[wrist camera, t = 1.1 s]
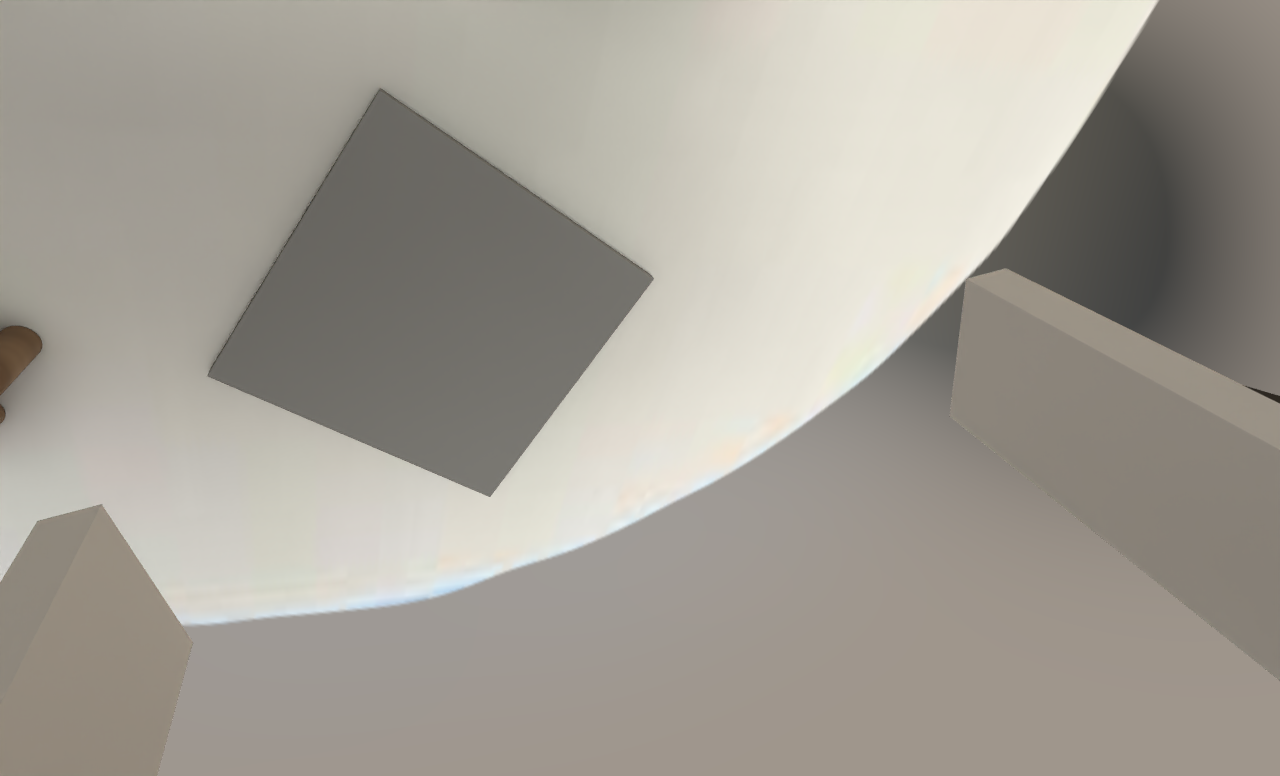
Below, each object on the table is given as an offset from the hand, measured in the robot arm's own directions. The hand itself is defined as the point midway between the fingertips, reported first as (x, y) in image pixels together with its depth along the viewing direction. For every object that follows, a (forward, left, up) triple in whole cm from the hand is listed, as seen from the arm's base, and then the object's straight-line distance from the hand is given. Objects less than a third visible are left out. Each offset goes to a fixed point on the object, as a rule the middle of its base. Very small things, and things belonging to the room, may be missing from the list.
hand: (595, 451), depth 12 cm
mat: (+3, -7, -23) cm, 24 cm away
